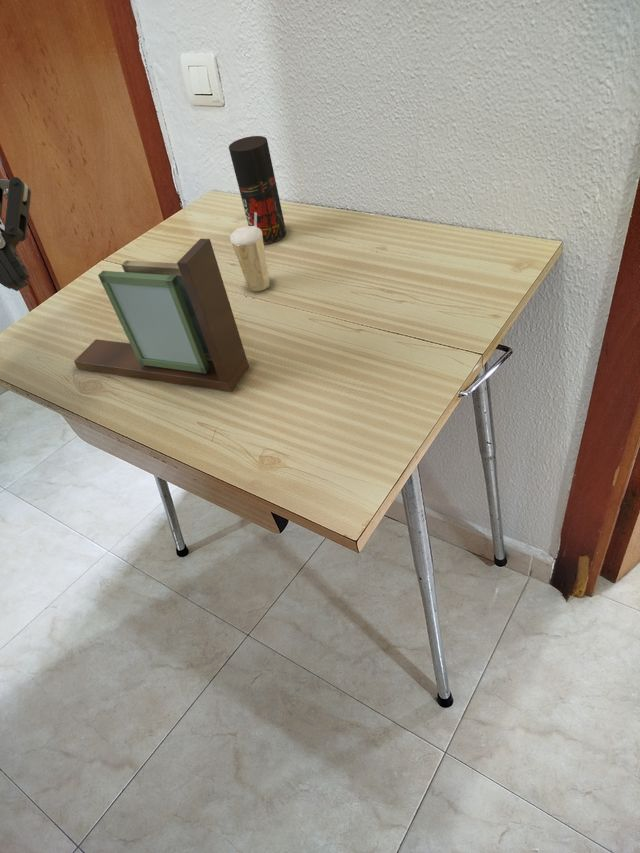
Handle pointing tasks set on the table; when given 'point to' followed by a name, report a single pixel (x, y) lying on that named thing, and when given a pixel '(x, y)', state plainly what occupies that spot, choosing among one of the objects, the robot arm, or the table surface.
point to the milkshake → (251, 255)
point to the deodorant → (258, 186)
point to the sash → (155, 320)
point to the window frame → (208, 318)
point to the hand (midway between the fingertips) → (20, 286)
